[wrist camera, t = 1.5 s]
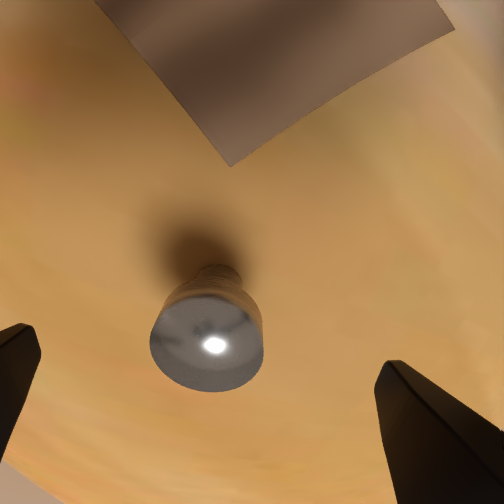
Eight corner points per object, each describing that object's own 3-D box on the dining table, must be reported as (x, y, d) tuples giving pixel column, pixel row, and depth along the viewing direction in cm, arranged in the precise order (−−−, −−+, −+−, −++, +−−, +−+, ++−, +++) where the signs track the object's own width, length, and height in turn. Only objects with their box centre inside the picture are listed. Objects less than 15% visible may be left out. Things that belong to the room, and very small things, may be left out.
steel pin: (277, 294, 22) (285, 363, 15) (213, 333, 23) (200, 404, 16) (225, 230, 20) (212, 281, 14) (161, 277, 21) (127, 339, 15)
